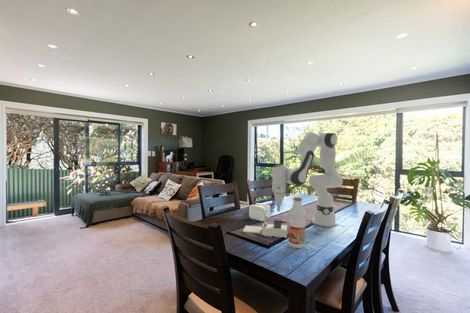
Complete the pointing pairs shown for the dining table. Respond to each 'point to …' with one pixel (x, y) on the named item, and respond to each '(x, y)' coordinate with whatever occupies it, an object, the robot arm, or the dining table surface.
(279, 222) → the plug
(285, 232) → the power strip
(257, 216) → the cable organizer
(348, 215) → the dining table surface
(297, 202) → the fruit juice
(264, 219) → the clip
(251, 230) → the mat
